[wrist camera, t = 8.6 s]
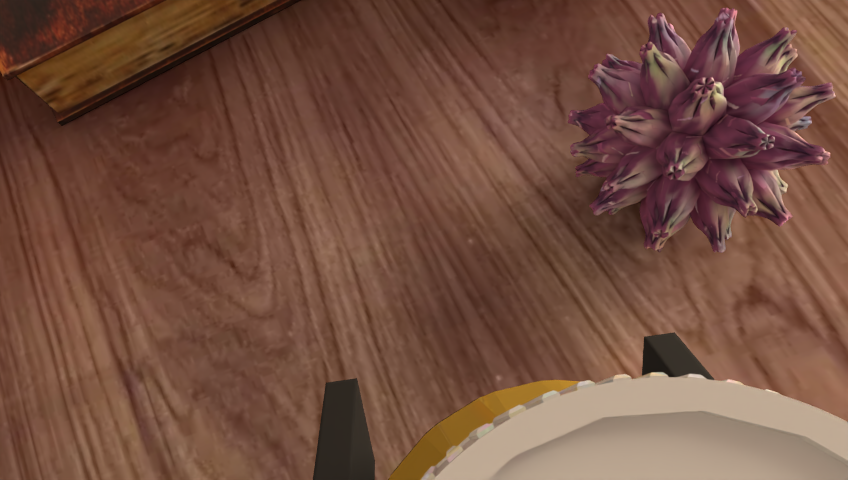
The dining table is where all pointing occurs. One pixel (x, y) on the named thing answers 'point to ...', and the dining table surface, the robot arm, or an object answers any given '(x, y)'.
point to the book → (111, 43)
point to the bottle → (632, 434)
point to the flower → (698, 130)
